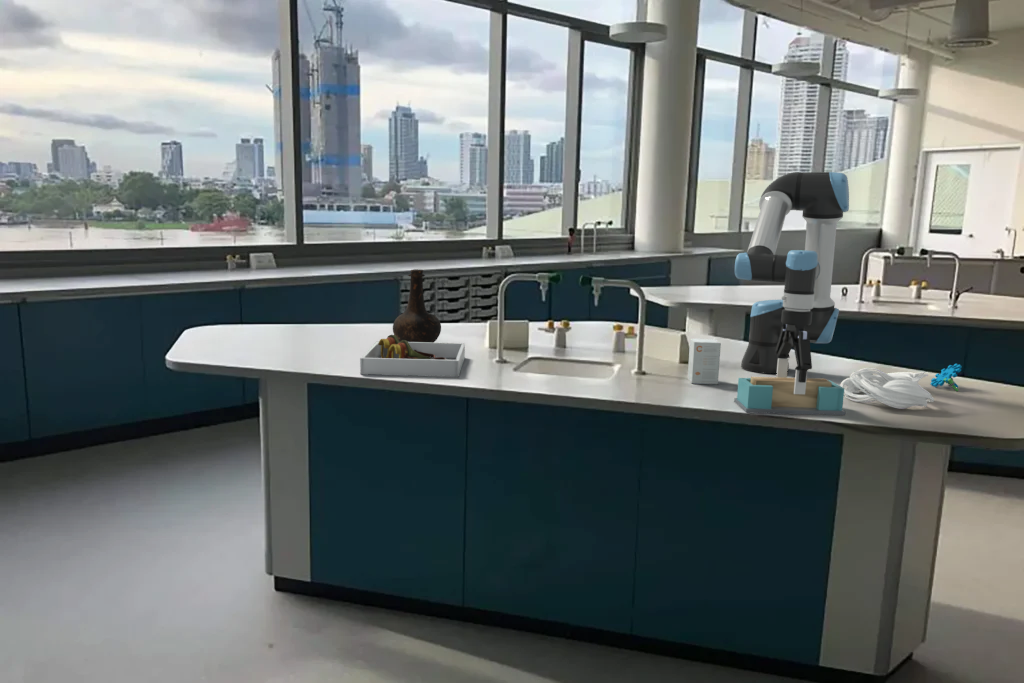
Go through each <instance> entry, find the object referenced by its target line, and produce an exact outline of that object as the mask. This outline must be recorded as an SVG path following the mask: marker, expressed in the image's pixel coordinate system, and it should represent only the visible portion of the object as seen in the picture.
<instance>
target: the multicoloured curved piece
mask: <svg viewBox="0 0 1024 683" xmlns="http://www.w3.org/2000/svg"><path fill="white" fill-rule="evenodd" d="M378 341H379V343H378V345H381V356H380V358H396V359H435V360H448V358H444V357H437V358H436V357H435V355H433V354H429V353H423V352H419V351H417V350H413V349H412V348H411V346H410V345H409V343H408V342H407V341H406V340H402V341H401V342H399V340H398V338H397V337H396V336H395V335H394V334H390V335H388V336H387V338H381V339H379V340H378Z"/></svg>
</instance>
